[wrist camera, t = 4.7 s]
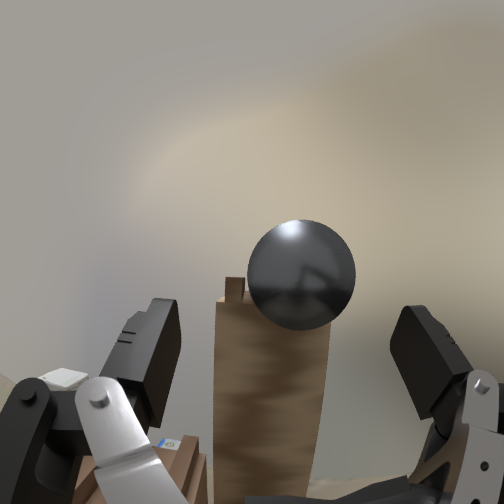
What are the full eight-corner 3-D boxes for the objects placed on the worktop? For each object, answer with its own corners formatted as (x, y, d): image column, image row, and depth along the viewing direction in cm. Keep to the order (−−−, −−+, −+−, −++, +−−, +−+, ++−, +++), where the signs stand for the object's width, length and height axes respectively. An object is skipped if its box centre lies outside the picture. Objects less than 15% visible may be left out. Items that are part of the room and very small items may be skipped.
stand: (273, 504, 29) (294, 279, 32) (282, 576, 14) (333, 281, 17) (225, 502, 29) (231, 276, 32) (217, 576, 14) (217, 276, 17)
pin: (278, 292, 31) (279, 261, 32) (352, 330, 9) (356, 223, 9) (247, 291, 31) (248, 260, 32) (244, 328, 9) (250, 216, 9)
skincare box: (82, 468, 30) (65, 388, 31) (51, 455, 30) (33, 377, 31) (101, 446, 38) (90, 373, 40) (72, 436, 38) (60, 365, 39)
